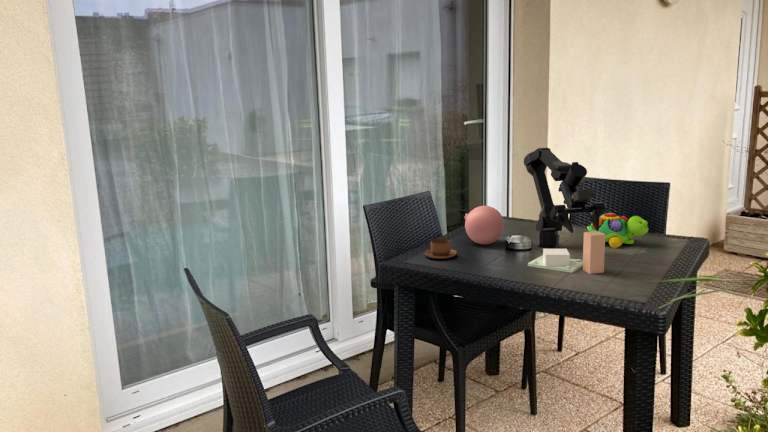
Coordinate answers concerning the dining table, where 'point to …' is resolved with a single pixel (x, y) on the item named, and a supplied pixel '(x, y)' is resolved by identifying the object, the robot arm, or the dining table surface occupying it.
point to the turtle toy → (620, 228)
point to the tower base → (558, 268)
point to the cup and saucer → (440, 249)
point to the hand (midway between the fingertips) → (585, 231)
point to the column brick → (593, 252)
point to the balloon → (484, 224)
